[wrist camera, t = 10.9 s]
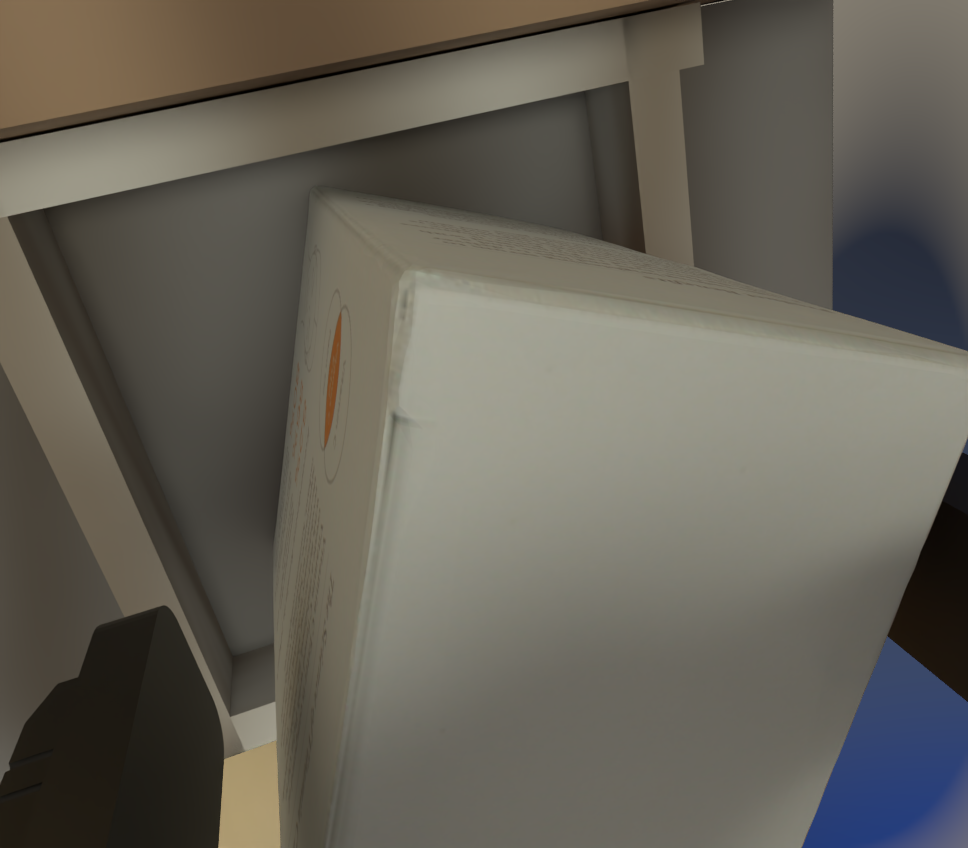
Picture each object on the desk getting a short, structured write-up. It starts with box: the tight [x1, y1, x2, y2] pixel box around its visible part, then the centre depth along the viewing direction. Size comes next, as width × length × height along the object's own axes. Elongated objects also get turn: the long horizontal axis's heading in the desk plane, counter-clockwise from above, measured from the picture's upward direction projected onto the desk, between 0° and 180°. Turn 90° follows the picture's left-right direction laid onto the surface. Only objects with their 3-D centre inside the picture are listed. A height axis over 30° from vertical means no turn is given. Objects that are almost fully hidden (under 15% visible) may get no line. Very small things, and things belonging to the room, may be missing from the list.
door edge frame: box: [0, 0, 833, 784], centre depth 12 cm, size 22×27×5 cm
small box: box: [273, 186, 968, 848], centre depth 12 cm, size 8×6×10 cm
